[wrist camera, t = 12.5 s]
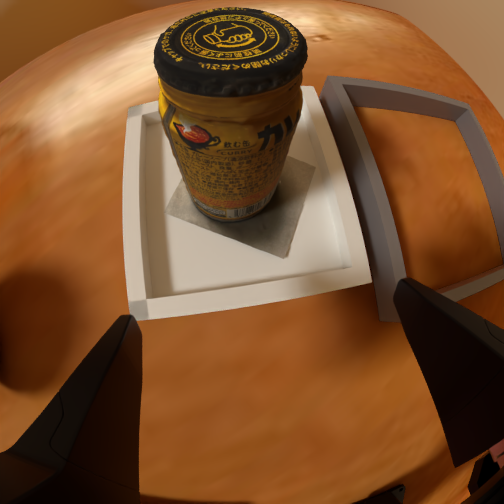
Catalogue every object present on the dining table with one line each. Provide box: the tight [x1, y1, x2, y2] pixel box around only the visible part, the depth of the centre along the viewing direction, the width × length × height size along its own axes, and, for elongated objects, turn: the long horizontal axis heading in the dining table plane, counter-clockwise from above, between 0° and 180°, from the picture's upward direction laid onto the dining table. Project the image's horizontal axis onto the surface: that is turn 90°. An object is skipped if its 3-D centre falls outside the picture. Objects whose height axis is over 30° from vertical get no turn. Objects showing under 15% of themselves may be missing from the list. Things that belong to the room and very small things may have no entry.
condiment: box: [154, 7, 316, 259], centre depth 12 cm, size 7×8×12 cm
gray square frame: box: [319, 76, 504, 323], centre depth 19 cm, size 20×20×3 cm
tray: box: [123, 86, 372, 321], centre depth 18 cm, size 16×15×2 cm
